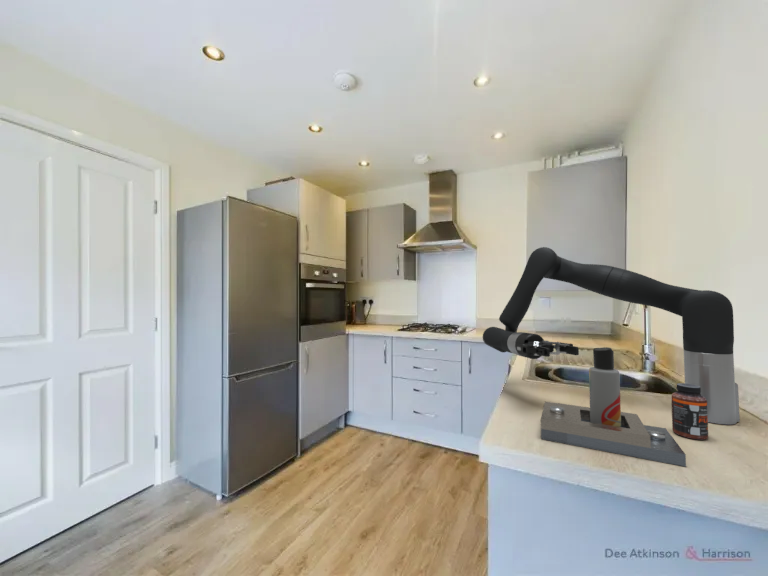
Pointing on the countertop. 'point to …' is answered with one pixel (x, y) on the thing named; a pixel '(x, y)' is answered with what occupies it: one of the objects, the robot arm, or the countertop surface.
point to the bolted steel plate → (609, 434)
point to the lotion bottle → (604, 389)
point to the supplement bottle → (689, 412)
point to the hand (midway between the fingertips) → (563, 351)
